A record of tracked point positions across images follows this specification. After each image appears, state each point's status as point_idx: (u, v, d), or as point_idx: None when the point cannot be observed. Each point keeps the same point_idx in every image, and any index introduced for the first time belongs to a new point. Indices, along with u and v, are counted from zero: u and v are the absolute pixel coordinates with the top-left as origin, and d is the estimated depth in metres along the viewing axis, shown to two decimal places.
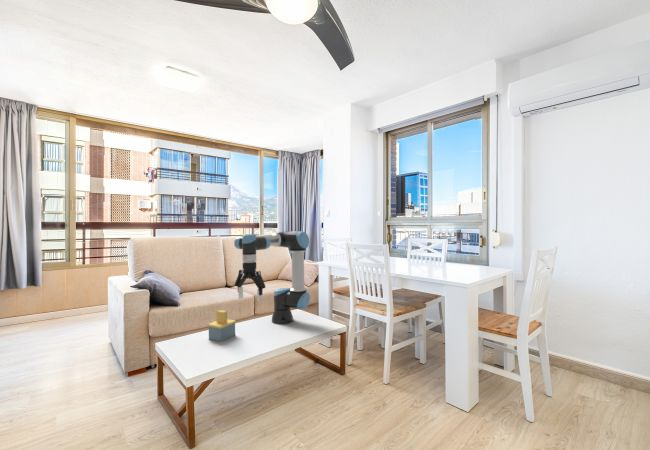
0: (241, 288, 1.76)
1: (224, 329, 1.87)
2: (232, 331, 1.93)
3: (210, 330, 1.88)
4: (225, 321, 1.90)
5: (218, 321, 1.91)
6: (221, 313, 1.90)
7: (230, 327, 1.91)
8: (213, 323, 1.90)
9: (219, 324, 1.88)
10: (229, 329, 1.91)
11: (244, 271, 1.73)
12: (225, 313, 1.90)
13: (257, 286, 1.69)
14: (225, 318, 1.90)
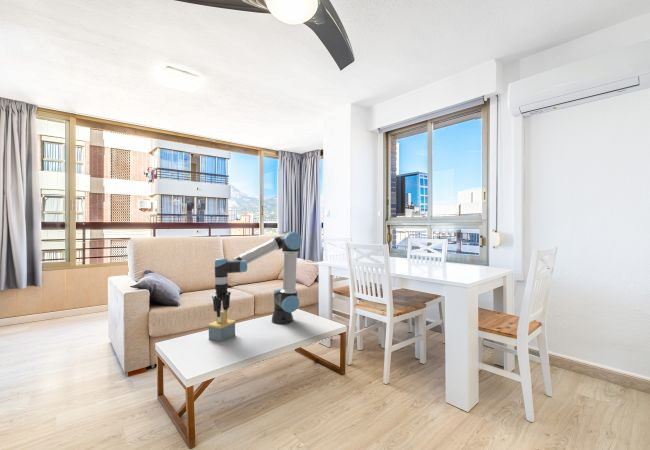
0: None
1: (224, 329, 1.87)
2: (232, 331, 1.93)
3: (210, 330, 1.88)
4: (225, 321, 1.90)
5: None
6: None
7: (230, 327, 1.91)
8: (213, 323, 1.90)
9: (219, 324, 1.88)
10: (229, 329, 1.91)
11: None
12: (225, 313, 1.90)
13: None
14: (225, 318, 1.90)
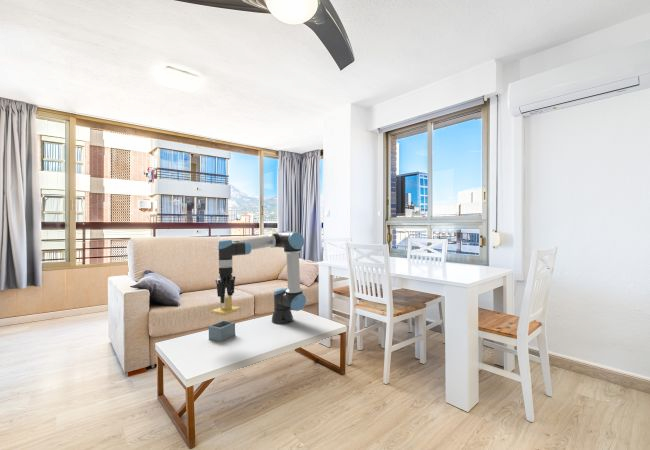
0: None
1: (224, 329, 1.87)
2: (232, 331, 1.93)
3: (210, 330, 1.88)
4: (229, 307, 1.76)
5: None
6: None
7: (230, 327, 1.91)
8: (217, 309, 1.76)
9: (223, 310, 1.74)
10: (229, 329, 1.91)
11: None
12: (229, 299, 1.76)
13: None
14: (229, 304, 1.76)
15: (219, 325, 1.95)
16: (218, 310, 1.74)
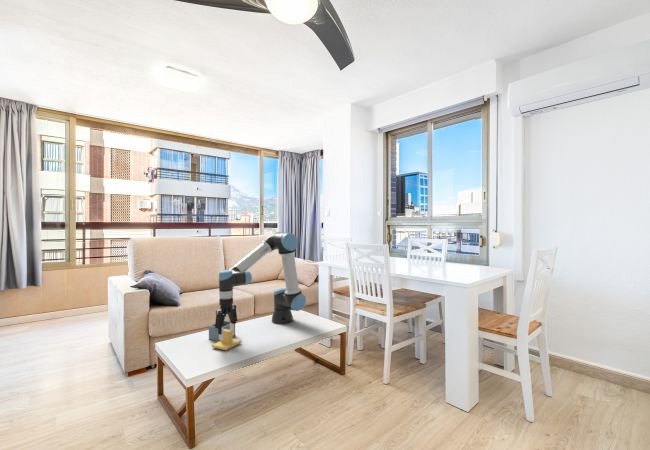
0: (231, 325, 1.81)
1: None
2: None
3: (210, 330, 1.88)
4: (230, 341, 1.76)
5: (223, 341, 1.77)
6: (226, 333, 1.76)
7: None
8: (217, 344, 1.76)
9: (224, 344, 1.75)
10: (229, 329, 1.91)
11: None
12: (230, 333, 1.77)
13: None
14: (230, 338, 1.77)
15: None
16: (219, 344, 1.75)
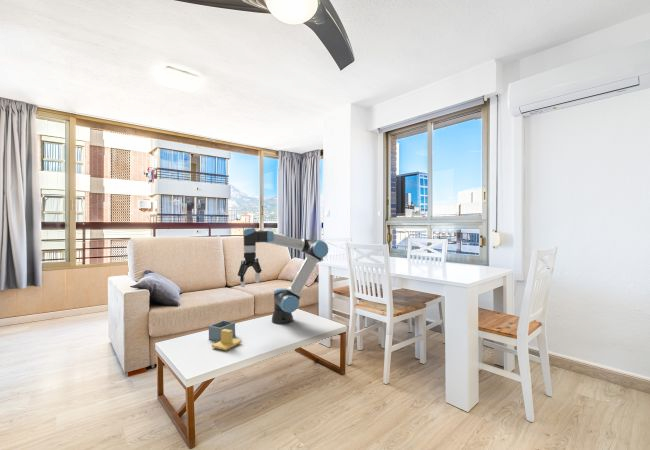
0: (257, 274, 2.06)
1: None
2: None
3: (210, 330, 1.88)
4: (230, 341, 1.76)
5: (223, 341, 1.77)
6: (226, 333, 1.76)
7: (230, 327, 1.91)
8: (217, 344, 1.76)
9: (224, 344, 1.75)
10: (229, 329, 1.91)
11: None
12: (230, 333, 1.77)
13: None
14: (230, 338, 1.76)
15: (219, 325, 1.95)
16: (219, 344, 1.75)
